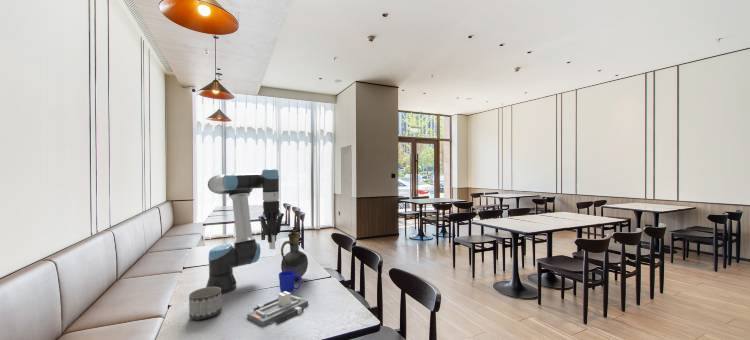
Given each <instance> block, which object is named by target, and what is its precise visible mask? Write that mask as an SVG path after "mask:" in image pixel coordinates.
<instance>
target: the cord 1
mask: <svg viewBox="0 0 750 340" xmlns="http://www.w3.org/2000/svg"><path fill="white" fill-rule="evenodd" d="M277 301H278V298H275V299H274V300H271V301H269V302H267V303H266V302H265V303H264V304H263V303H259V304H257V305H256V307H255V308H254V309H253V311H255V310H258V309H260V308H262V307H265V306H267V305H269V304H272V303H274V302H277Z"/></svg>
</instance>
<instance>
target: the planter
mask: <svg viewBox="0 0 750 340" xmlns="http://www.w3.org/2000/svg"><path fill="white" fill-rule="evenodd" d="M188 307H189V308H188V311H189V314H188V315H189V318H190V319H191V320H194V321H195V320H197V321H199V320H205V319H210V318H212V317H215V316H217V315H219V314H220V312H221V311H222V309H223V308H222V307H223V306H222V293H221V288H219V287H206V286H205V287H201V288H198V289H196V290H193V291H191V292H190V293H189V294H188Z"/></svg>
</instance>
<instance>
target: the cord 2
mask: <svg viewBox="0 0 750 340" xmlns="http://www.w3.org/2000/svg"><path fill="white" fill-rule="evenodd" d="M303 311H304V307H298V306H297V307H295V308H294V311H292V312H290V313H287V314H285V315H283V316H281V317H279V318H277V319H276V320H275V323H276V324H279V323H281V322H283V321H285V320H287V319H289V318H291V317H293V316H295V315H300V314H302V313H303Z"/></svg>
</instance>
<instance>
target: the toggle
mask: <svg viewBox="0 0 750 340" xmlns="http://www.w3.org/2000/svg"><path fill="white" fill-rule="evenodd" d="M291 293H292V292H291ZM291 293H289V292H287V291H284V292H282V293H281V292H280V293H278V294H277V295H278V297H277V299H278V305H280V306H286V305H288V304H290V303H291V295H292V294H291Z"/></svg>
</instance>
